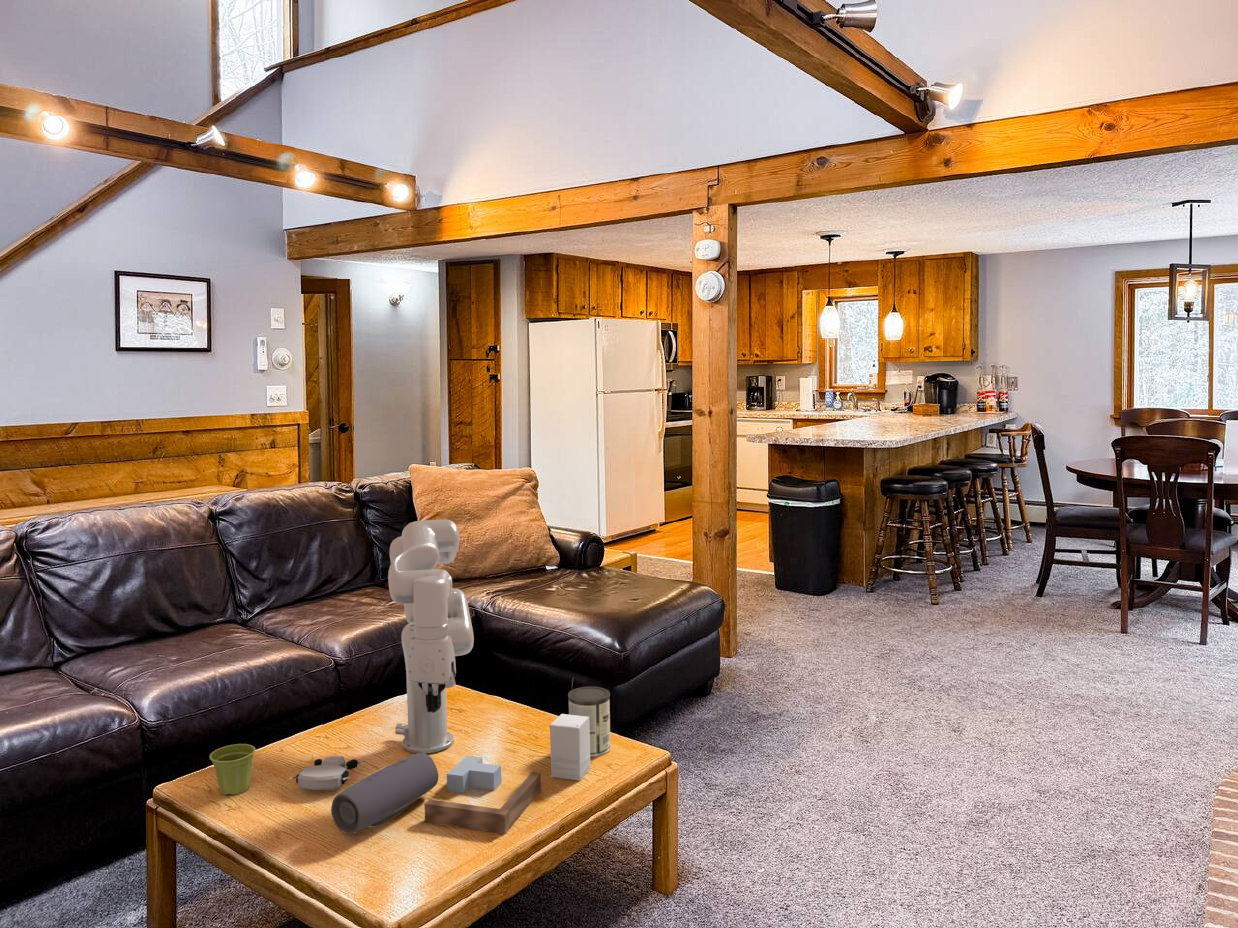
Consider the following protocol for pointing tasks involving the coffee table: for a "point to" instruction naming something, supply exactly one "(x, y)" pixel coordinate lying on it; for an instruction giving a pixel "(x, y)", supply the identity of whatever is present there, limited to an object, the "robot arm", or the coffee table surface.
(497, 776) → the tee block
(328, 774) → the robot toy
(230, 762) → the plant pot
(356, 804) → the bluetooth speaker
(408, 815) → the coffee table surface
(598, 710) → the coffee can
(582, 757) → the supplement box
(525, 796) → the walnut fence
